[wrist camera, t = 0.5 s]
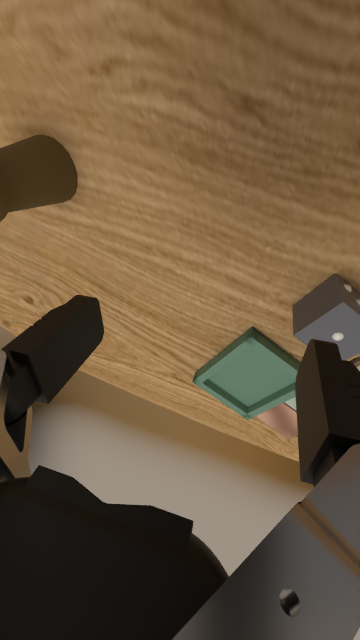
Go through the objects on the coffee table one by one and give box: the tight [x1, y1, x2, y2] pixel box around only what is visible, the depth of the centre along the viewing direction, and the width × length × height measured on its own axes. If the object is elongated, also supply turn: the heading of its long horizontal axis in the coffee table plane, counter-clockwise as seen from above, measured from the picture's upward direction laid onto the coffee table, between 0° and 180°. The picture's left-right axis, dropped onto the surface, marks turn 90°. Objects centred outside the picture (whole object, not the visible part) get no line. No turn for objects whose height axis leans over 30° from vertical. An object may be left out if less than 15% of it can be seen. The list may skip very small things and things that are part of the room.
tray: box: [192, 327, 301, 420], centre depth 35 cm, size 12×10×2 cm
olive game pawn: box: [0, 135, 77, 222], centre depth 23 cm, size 6×6×11 cm
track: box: [256, 357, 360, 439], centre depth 35 cm, size 16×7×1 cm, turn 148°
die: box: [293, 274, 360, 360], centre depth 25 cm, size 5×5×5 cm
